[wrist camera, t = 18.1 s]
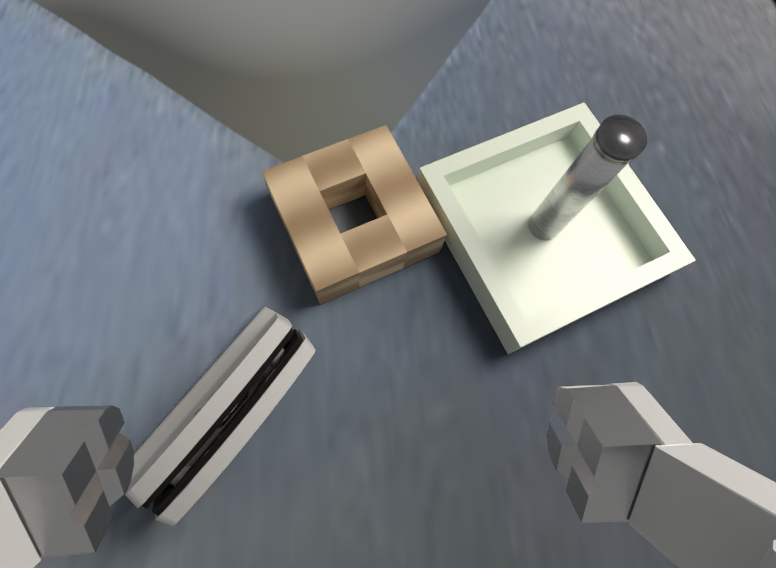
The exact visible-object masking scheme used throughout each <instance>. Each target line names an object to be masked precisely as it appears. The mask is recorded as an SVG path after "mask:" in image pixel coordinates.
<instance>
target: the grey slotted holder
mask: <svg viewBox="0 0 776 568" xmlns="http://www.w3.org/2000/svg"><path fill="white" fill-rule="evenodd" d="M314 353H315V348H314V347H313V345H312V344H311V343H310V341H309V340H308V339H307V337H306V336H305V335H304V333H303V332H302V331H301V330H299V331H297V330H295V329H294V330H293V329H292V326H291V323H290V321H289V320H288V319H287V318H285V317H283V316H281V315H279V314H278V313H276V312H274V311H272V310H271V309H269V308H267V307H265V306H264V307H263V308H262V309H261V310H260V312H259V313H258V314H257V315H256V316H255V317H254V318H253V320H252V321H251V322H250V323H249V324H248V325H247V326H246V327H245V329H244V330H243V331H242V332H241V333H240V334H239V335H238V337H237V338H236V339H235V340H234V341H233V342H232V343H231V344H230V346H229V347H228V348H227V349H226V350H225V351H224V352H223V354H222V355H221V356H220V357H219V358H218V359H217V360H216V361H215V363H214V364H213V365H212V366H211V367H210V368H209V369H208V371H207V372H206V373H205V374H204V375H203V376H202V377H201V378H200V380H199V381H198V382H197V383H196V384H195V385H194V386H193V388H192V389H191V390H190V391H189V392H188V393H187V394H186V396H185V397H184V398H183V399H182V400H181V401H180V402H179V403H178V405H177V406H176V407H175V408H174V409H173V410H172V411H171V413H170V414H169V415H168V416H167V417H166V418H165V419H164V420H163V422H162V423H161V424H160V425H159V426H158V427H157V428H156V430H155V431H154V432H153V433H152V434H151V435H150V436H149V437H148V439H147V440H146V441H145V442H144V443H143V444H142V445H141V447H140V448H139V449H138V450H137V451H136V452H135V453H134V468H133V473H132V478H131V483H130V485H129V487H128V489H127V492H126V494H125V496H126V497H127V498H128V499H129V500H130V501H131V502H132V503H133V504H134V505H135V506H136V507H137V508H139V507H140V506H141V505H142V506H144V507H145V508H147V507H149V506H150V505H151V504H152V503H153V502H154V505H153V510H152V512H153V513H154V514H155V519H154V520H156V521H159V522H161V523H164V524H167V525H169V526H174V525H175V524H176V523H177V522H178V521H179V520H180V519H181V518H182V517H183V516H184V515H185V514H186V513H187V511H188V510H189V509H190V508H191V507H192V506H193V505H194V504H195V503H196V501H197V500H198V499H199V498H200V497H201V496H202V495H203V494H204V492H205V491H206V490H207V489H208V488H209V487H210V486H211V484H212V483H213V482H214V481H215V480H216V479H217V477H218V476H219V475H220V474H221V473H222V472H223V470H224V469H225V468H226V467H227V466H228V465H229V463H230V462H231V461H232V460H233V458H234V457H235V456H236V455H237V454H238V452H239V451H240V450H241V449H242V448H243V446H244V445H245V444H246V443H247V441H248V440H249V439H250V438H251V437H252V435H253V434H254V433H255V432H256V430H257V429H258V428H259V427H260V425H261V424H262V423H263V422H264V420H265V419H266V418H267V416H268V415H269V414H270V413H271V411H272V410H273V409H274V407H275V406H276V405H277V403H278V402H279V401H280V400H281V398H282V397H283V396H284V394H285V393H286V392H287V390H288V389H289V388H290V386H291V385H292V384H293V382H294V381H295V380H296V378H297V377H298V375H299V374H300V373H301V371H302V370H303V369H304V367H305V366H306V364H307V363H308V362H309V360H310V359H311V358H312V356H313V354H314ZM248 391H249V394H248V396H247V398H246V399H245V400H244V401H243V403H242V404H241V405H240V406H239V407H238V409H237V410H236V411H235V412H234V413H233V415H232V416H231V417H230V418H229V419H228V421H227V422H226V423H225V424H224V425H223V426H221V427H220V428H218V427H219V426H220V425H221V424H222V423H223V421H224V420H225V419H226V418H227V417H228V415H229V414H230V413H231V412H232V411H233V410H234V408H235V407H236V406H237V405H238V403H239V402H240V401H241V400H242V399H243V397H244V396H245V395H246V394H247V392H248Z"/></svg>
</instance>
